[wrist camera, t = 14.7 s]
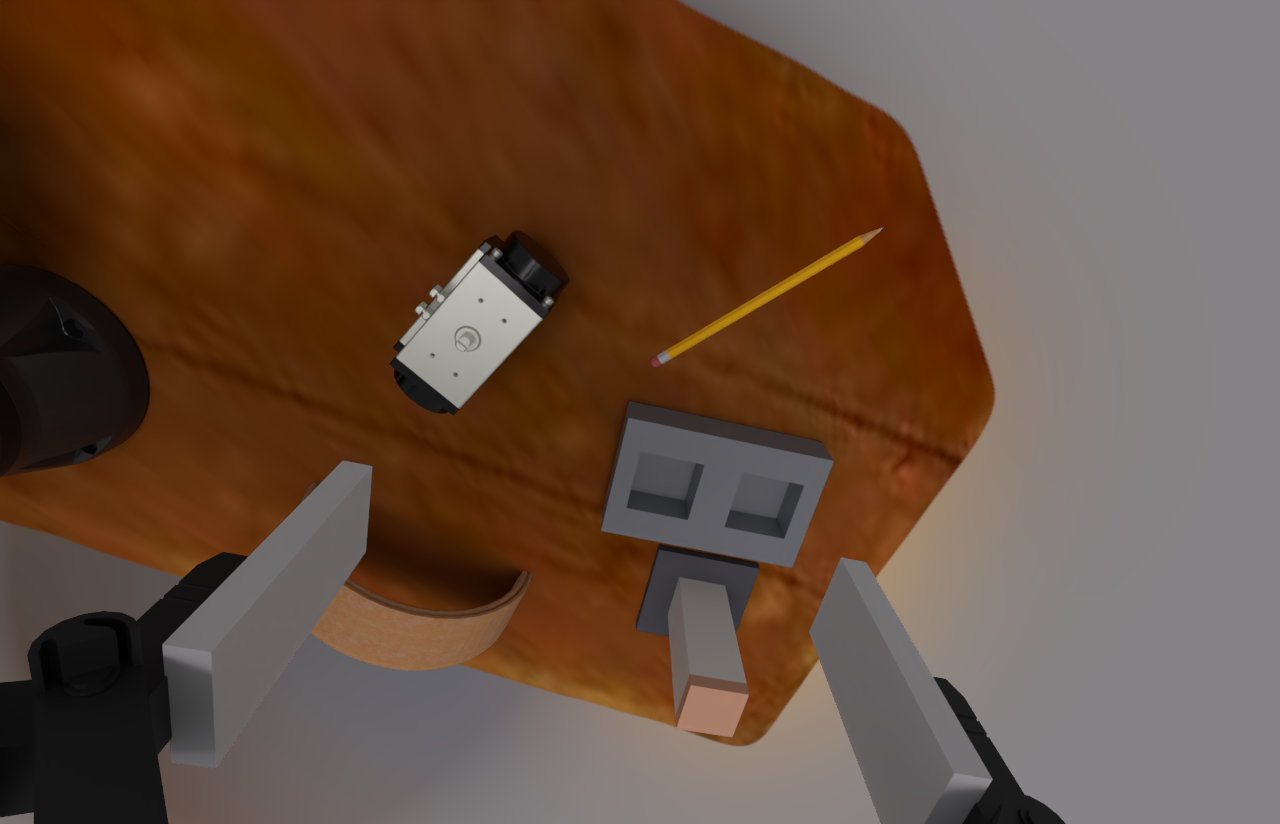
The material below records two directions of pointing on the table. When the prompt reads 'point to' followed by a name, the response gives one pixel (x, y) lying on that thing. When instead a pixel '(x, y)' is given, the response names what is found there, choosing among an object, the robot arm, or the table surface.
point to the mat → (696, 567)
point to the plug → (705, 659)
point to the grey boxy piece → (713, 485)
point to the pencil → (764, 298)
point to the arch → (411, 627)
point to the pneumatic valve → (476, 321)
